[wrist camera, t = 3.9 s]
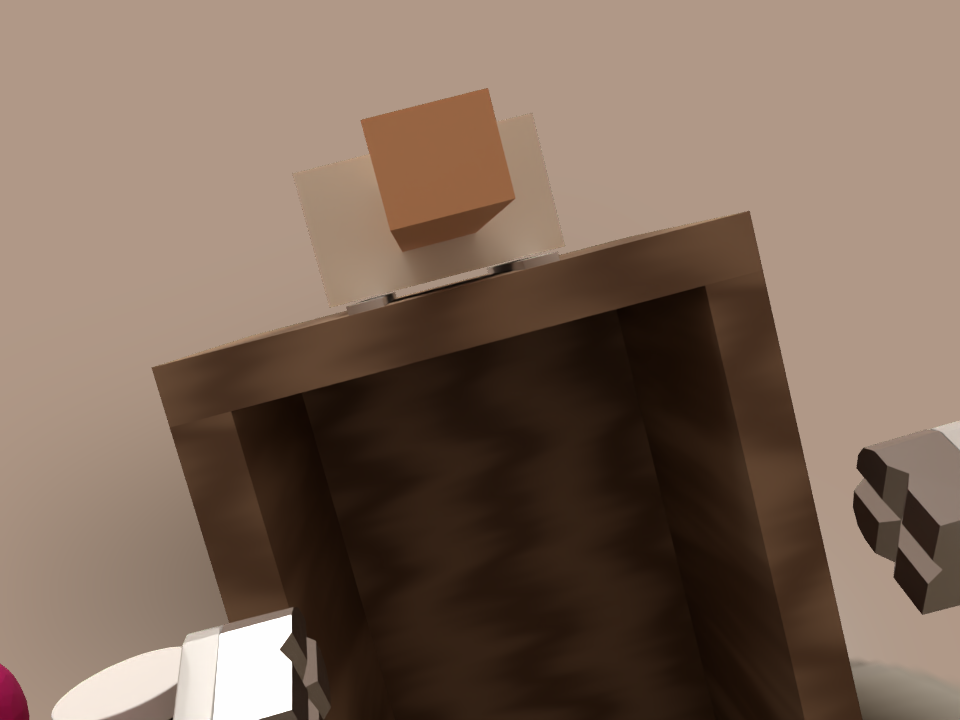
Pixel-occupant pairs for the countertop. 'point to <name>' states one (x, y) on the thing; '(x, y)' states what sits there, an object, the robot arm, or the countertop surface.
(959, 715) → the countertop surface
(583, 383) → the walnut stand
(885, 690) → the countertop surface
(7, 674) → the pepper mill
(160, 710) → the spread jar
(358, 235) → the cream block mallet
